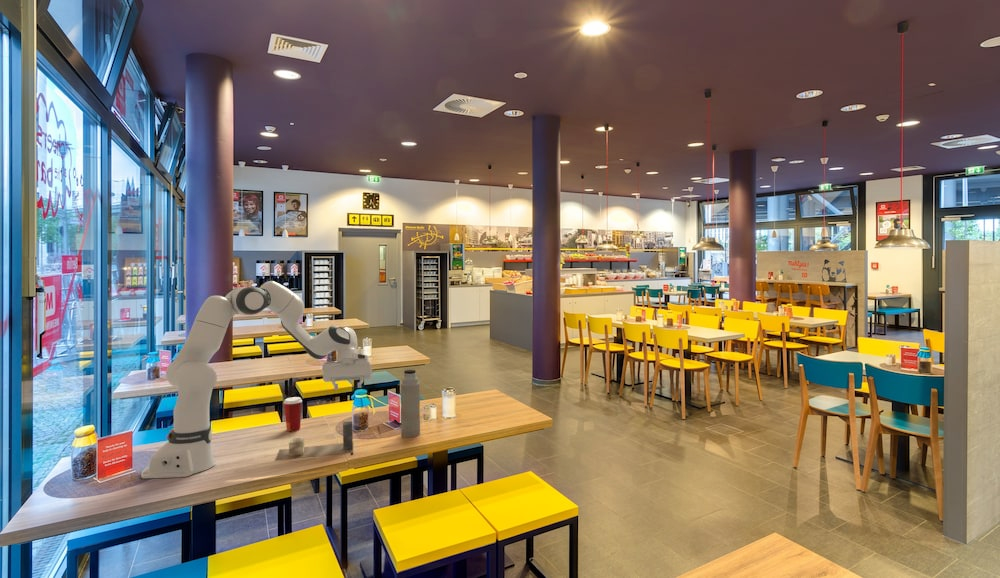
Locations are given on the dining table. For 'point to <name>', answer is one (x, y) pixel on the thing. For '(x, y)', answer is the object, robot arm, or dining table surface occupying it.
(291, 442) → the gray-green cube
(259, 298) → the robot arm
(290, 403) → the paper cup
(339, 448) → the gray l-shaped stand
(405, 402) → the thermos bottle
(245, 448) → the dining table surface
